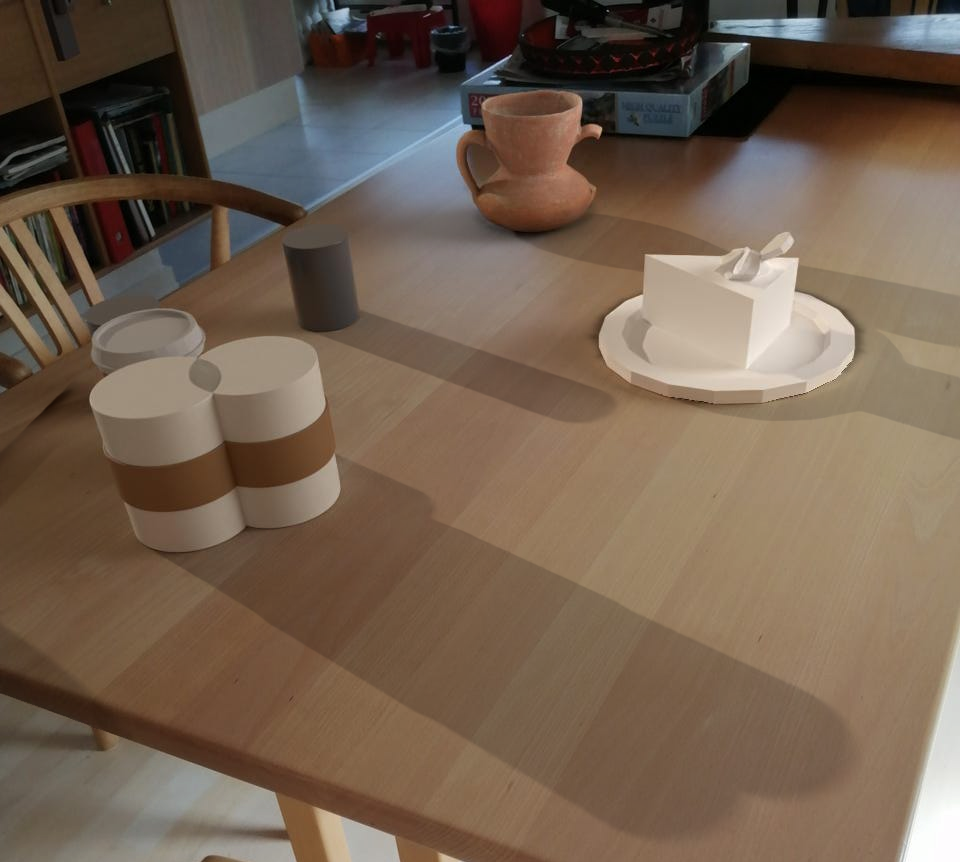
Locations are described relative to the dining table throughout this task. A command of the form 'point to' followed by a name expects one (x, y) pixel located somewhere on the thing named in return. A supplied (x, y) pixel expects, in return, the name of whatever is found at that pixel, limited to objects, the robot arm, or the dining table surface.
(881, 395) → the dining table surface
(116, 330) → the disposable coffee cup
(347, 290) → the grey tumblers
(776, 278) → the white wedge on plate
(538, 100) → the ceramic jug
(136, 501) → the white banded double cylinder
